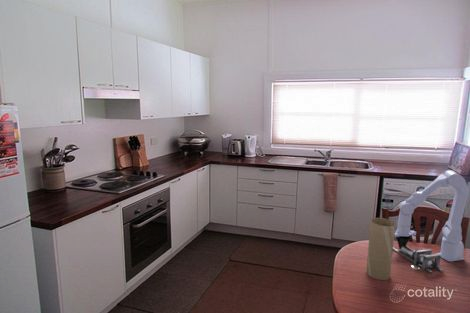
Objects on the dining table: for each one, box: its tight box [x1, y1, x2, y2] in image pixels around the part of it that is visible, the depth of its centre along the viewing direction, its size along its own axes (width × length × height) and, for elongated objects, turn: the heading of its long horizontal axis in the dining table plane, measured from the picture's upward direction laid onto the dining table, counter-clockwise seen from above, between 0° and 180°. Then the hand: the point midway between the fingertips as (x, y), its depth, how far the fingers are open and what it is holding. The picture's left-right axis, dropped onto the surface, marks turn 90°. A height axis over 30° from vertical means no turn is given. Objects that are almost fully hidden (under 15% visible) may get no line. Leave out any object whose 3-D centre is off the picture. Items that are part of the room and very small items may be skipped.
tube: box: [365, 217, 397, 281], centre depth 143 cm, size 10×10×25 cm
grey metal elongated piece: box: [400, 244, 435, 269], centre depth 158 cm, size 16×4×4 cm, turn 18°
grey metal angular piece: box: [393, 246, 444, 275], centre depth 157 cm, size 12×25×7 cm, turn 15°
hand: (401, 249), depth 167 cm, fingers closed, pressing on grey metal elongated piece
